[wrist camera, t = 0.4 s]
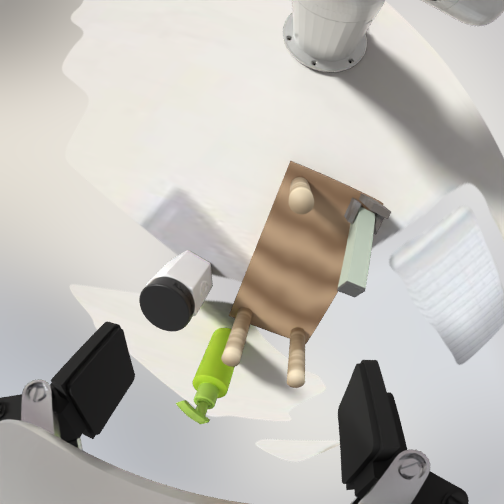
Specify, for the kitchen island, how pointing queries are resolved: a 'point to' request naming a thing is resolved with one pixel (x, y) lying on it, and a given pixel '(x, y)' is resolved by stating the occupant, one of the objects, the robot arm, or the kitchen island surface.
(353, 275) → the hinged leg
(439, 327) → the kitchen island surface
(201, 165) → the kitchen island surface
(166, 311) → the jar
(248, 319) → the stool seat
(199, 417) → the soap dispenser
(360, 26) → the robot arm
